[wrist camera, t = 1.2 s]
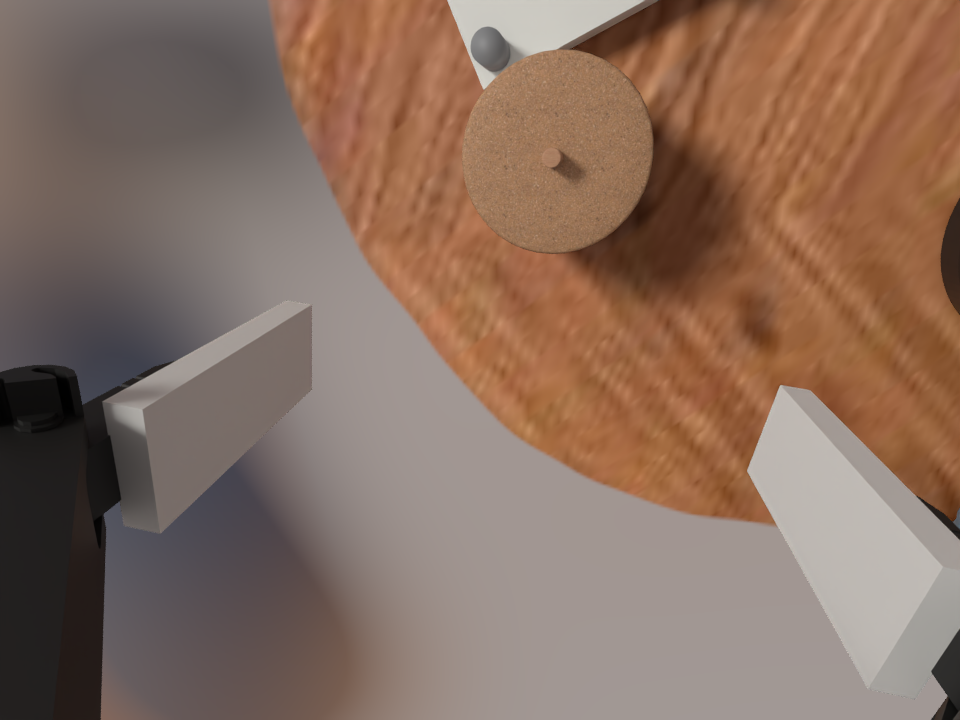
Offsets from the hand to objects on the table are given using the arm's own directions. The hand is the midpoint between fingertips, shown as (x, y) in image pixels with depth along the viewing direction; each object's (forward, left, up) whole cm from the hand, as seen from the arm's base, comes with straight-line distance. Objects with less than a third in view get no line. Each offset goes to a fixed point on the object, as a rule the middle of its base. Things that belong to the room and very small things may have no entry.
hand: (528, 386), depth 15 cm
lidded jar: (+6, -2, -26) cm, 27 cm away
